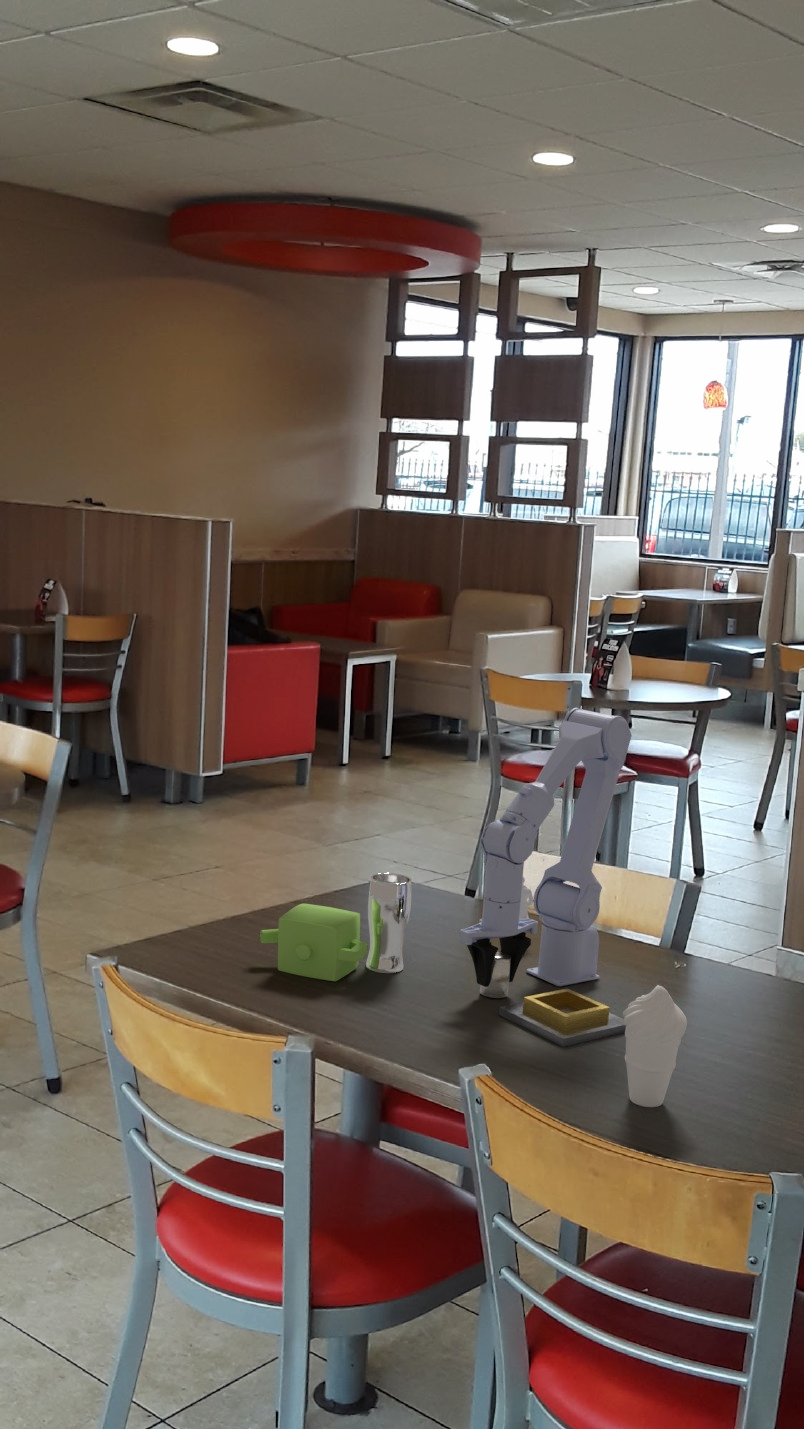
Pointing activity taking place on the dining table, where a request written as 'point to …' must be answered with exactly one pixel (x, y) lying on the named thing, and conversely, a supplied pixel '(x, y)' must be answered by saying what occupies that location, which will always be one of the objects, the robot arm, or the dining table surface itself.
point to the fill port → (564, 1017)
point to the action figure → (525, 901)
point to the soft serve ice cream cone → (652, 1045)
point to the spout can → (498, 977)
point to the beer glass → (388, 921)
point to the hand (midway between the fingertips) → (494, 982)
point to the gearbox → (317, 941)
